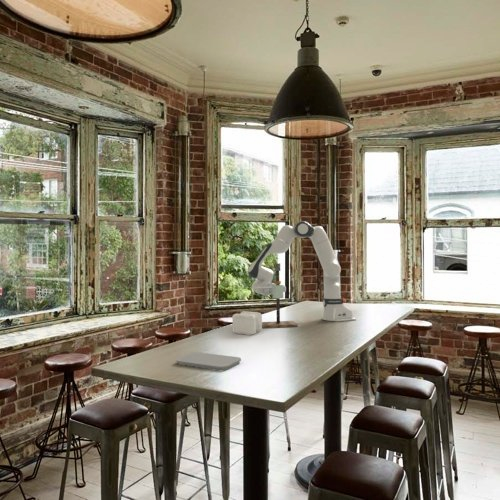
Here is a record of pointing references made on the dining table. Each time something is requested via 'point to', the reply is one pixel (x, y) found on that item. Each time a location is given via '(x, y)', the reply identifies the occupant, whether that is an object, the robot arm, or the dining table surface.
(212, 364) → the tablet
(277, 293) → the sleeve
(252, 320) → the cable organizer
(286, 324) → the stand
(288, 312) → the dining table surface
